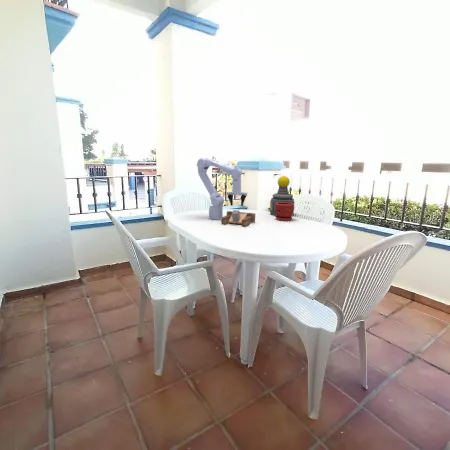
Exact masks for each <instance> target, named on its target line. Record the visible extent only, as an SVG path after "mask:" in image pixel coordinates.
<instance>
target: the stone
mask: <svg viewBox="0 0 450 450" xmlns="http://www.w3.org/2000/svg"><path fill="white" fill-rule="evenodd" d="M232 211H233V212H232V219H233V221H239V219H240V212H241V211H240V210H236V209H233V210H232Z"/></svg>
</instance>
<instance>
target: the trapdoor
mask: <svg viewBox="0 0 450 450" xmlns="http://www.w3.org/2000/svg"><path fill="white" fill-rule="evenodd" d="M246 216H247V214H244V213H240V219H239V221H233V219H232V215H231V217H230V219H229V221H228V222H229V223H228V224H230V223H231V224H241V225H242V219H244V218H245V217H246Z"/></svg>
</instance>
